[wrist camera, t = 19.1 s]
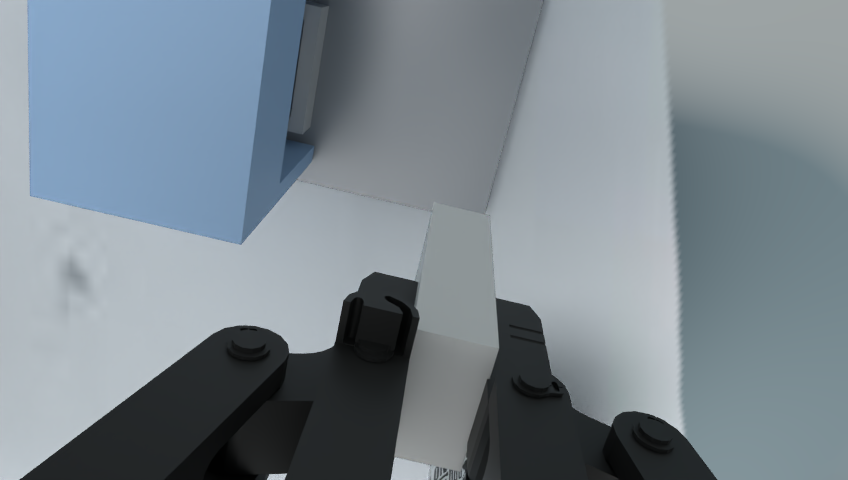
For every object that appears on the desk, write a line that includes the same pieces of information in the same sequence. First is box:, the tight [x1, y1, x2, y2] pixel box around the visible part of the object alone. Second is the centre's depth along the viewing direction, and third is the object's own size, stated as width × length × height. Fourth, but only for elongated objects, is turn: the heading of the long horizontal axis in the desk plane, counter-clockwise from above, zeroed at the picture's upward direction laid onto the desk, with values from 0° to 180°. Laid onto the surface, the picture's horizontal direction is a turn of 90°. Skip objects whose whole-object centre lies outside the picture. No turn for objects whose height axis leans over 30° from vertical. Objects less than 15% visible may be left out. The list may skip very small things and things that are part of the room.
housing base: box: [286, 0, 544, 214], centre depth 38 cm, size 28×14×4 cm, turn 77°
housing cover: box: [28, 0, 314, 245], centre depth 32 cm, size 9×11×13 cm
